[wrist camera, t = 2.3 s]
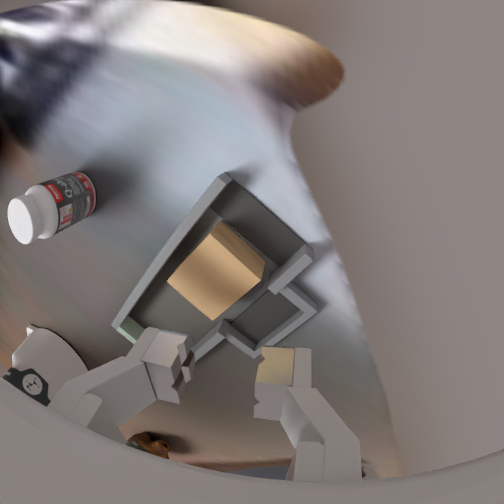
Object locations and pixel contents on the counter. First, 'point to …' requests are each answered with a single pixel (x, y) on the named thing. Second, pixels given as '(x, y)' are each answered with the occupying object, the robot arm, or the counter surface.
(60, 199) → the pill bottle
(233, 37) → the counter surface
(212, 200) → the channel
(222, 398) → the counter surface
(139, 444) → the decorative turtle
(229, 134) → the counter surface
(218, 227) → the oak block
